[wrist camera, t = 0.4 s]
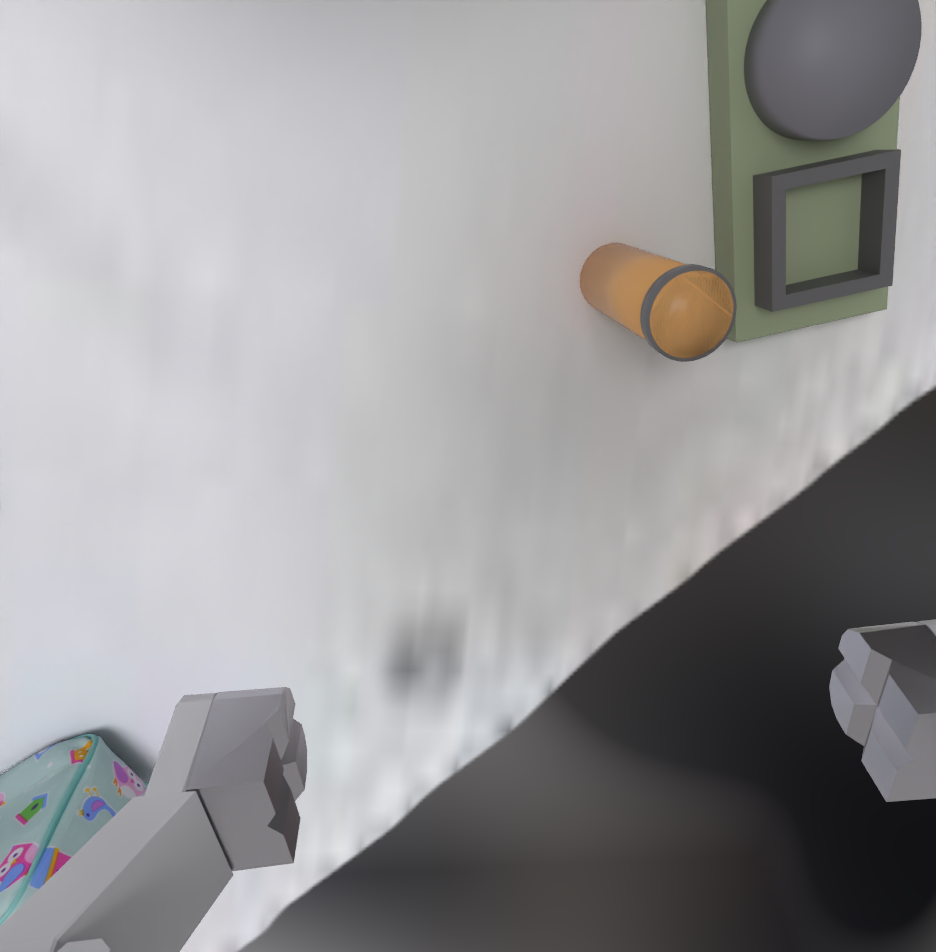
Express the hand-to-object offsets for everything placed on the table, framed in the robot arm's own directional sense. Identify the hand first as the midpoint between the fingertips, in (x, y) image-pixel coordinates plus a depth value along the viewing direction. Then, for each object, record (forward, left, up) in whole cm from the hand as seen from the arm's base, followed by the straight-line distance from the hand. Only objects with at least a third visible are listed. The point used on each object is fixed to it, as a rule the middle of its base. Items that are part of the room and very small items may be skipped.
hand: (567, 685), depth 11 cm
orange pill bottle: (+4, +16, -46) cm, 48 cm away
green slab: (-2, +30, -46) cm, 54 cm away
